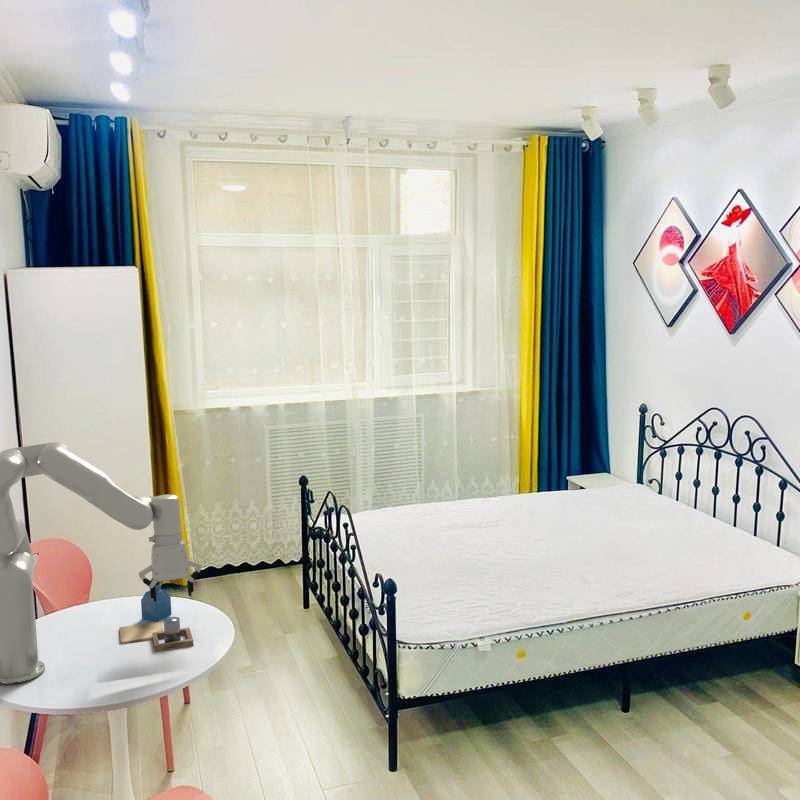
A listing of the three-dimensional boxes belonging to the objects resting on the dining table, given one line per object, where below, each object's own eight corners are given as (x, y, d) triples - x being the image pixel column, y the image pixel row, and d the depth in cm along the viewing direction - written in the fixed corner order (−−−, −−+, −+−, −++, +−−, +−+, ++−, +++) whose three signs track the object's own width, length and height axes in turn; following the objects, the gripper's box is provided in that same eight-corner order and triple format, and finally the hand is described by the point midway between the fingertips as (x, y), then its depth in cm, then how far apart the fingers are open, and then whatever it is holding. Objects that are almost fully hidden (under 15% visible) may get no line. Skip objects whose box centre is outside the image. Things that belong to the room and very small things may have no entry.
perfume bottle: (171, 616, 250) (169, 579, 249) (155, 623, 245) (153, 585, 244) (157, 613, 254) (155, 576, 252) (142, 619, 248) (140, 581, 247)
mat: (120, 644, 230) (120, 641, 230) (119, 629, 241) (119, 627, 241) (164, 637, 234) (164, 635, 234) (161, 623, 245) (161, 621, 245)
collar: (154, 651, 224) (154, 646, 224) (152, 637, 234) (152, 632, 234) (193, 645, 228) (193, 640, 228) (189, 632, 237) (189, 627, 237)
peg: (165, 645, 228) (164, 623, 227) (164, 640, 232) (163, 618, 231) (181, 643, 229) (180, 621, 229) (179, 637, 234) (178, 615, 233)
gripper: (136, 546, 221) (141, 606, 223) (201, 538, 227) (205, 596, 229) (135, 539, 228) (140, 598, 230) (198, 531, 234) (201, 588, 236)
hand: (172, 597), depth 230 cm, fingers open, 9 cm apart
